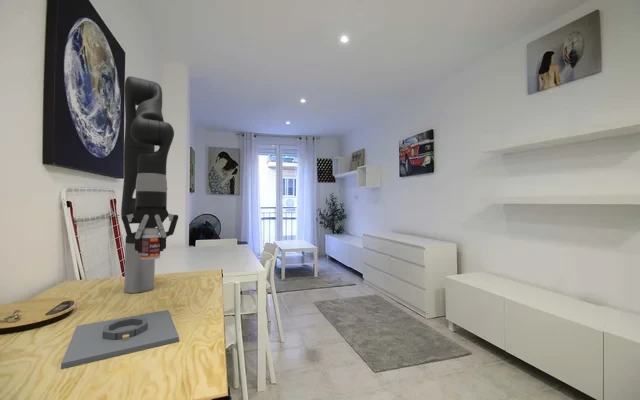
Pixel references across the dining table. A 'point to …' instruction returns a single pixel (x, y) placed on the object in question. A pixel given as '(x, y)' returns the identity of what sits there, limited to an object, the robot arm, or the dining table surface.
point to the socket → (119, 337)
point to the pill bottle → (150, 244)
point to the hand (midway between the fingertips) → (150, 251)
